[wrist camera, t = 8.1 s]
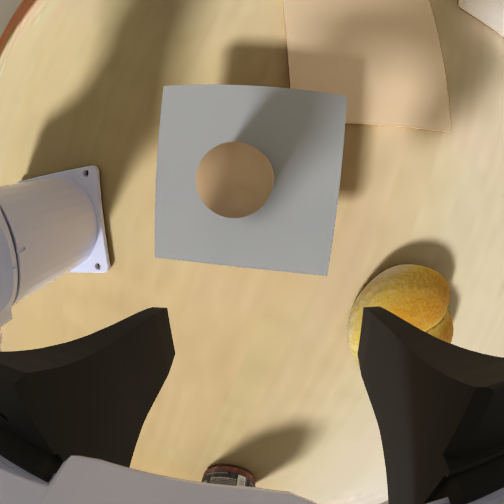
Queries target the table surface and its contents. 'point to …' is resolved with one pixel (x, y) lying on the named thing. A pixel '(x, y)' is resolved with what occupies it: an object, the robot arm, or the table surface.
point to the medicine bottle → (486, 12)
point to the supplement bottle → (228, 476)
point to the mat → (371, 59)
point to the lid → (249, 176)
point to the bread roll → (406, 301)
